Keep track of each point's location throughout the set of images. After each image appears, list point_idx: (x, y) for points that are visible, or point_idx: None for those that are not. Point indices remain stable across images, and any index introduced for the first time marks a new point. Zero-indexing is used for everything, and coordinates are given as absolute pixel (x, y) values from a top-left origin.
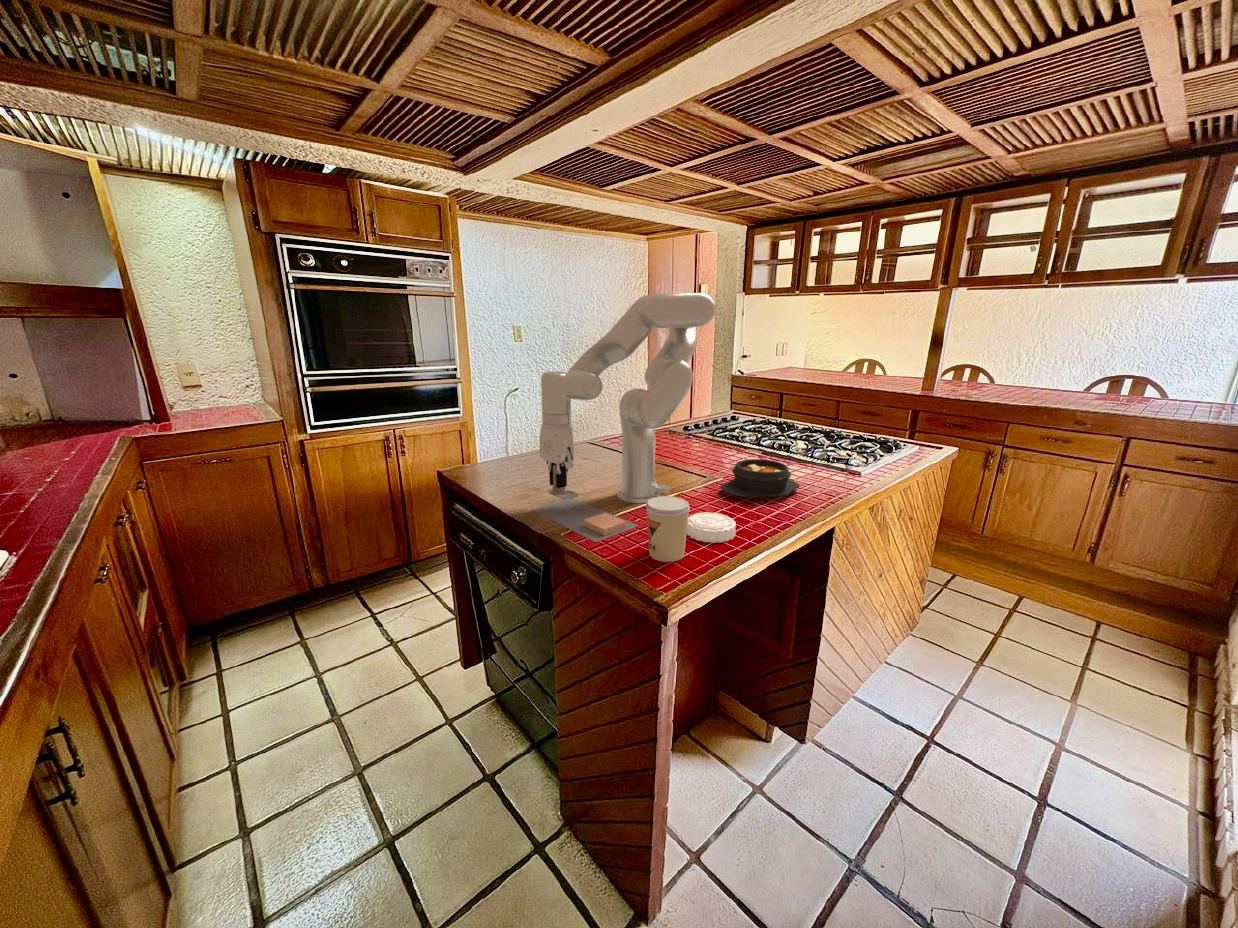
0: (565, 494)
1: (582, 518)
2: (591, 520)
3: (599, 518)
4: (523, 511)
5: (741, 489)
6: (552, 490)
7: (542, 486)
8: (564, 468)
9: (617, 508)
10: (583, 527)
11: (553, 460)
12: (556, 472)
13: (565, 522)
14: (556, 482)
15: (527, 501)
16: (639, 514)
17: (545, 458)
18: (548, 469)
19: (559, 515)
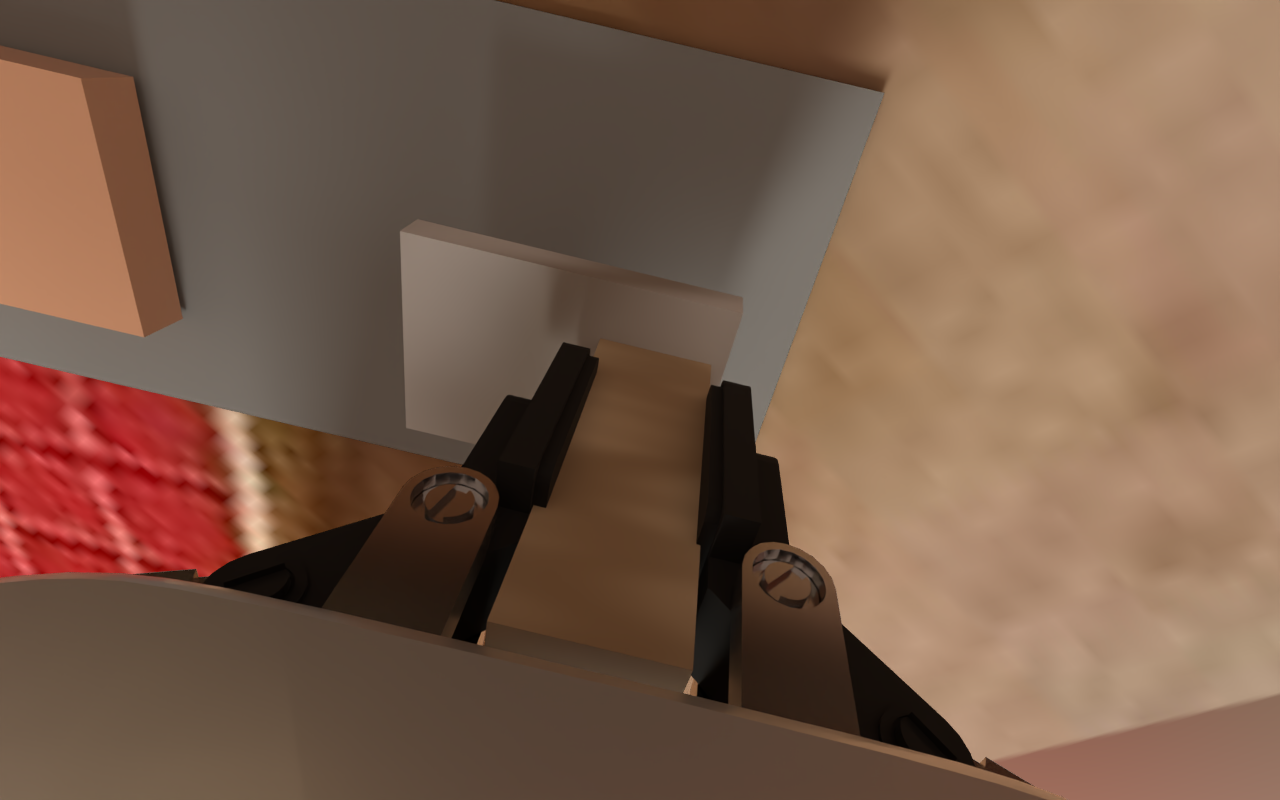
0: (463, 323)
1: (303, 219)
2: (30, 117)
3: (43, 204)
4: (951, 9)
5: None
6: (692, 341)
7: (1142, 611)
8: (221, 575)
9: (329, 517)
10: (113, 48)
11: (245, 687)
12: (582, 528)
13: (319, 34)
14: (557, 378)
15: (1083, 276)
16: (157, 502)
17: (822, 785)
18: (815, 568)
19: (507, 149)
